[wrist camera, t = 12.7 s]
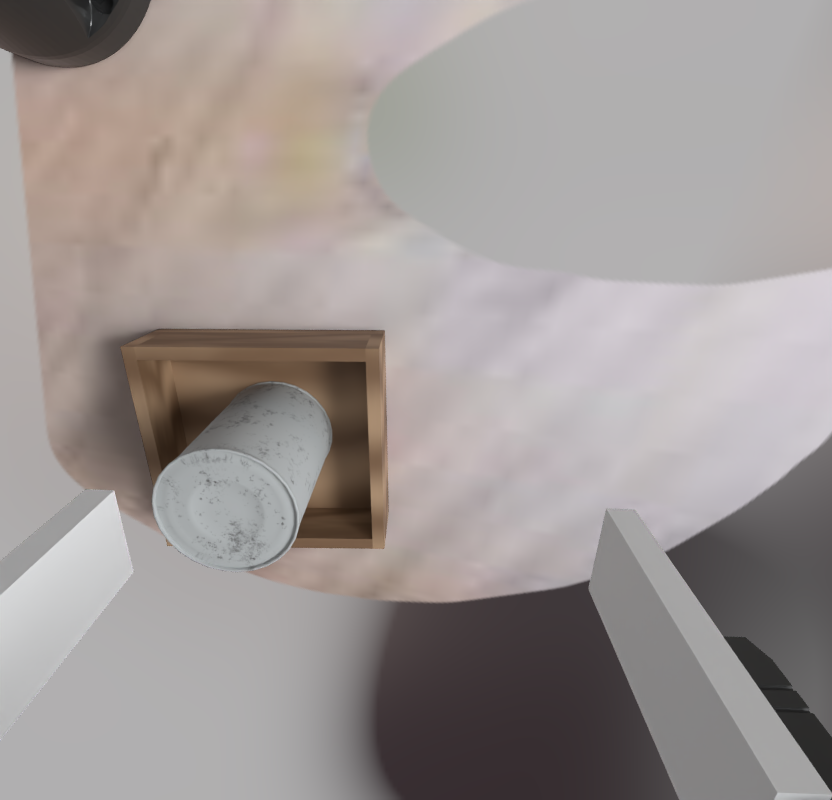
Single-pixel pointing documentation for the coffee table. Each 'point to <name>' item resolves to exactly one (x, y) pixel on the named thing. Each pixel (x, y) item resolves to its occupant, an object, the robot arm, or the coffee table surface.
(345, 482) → the walnut box
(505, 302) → the coffee table surface
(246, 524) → the speckled white tin can
